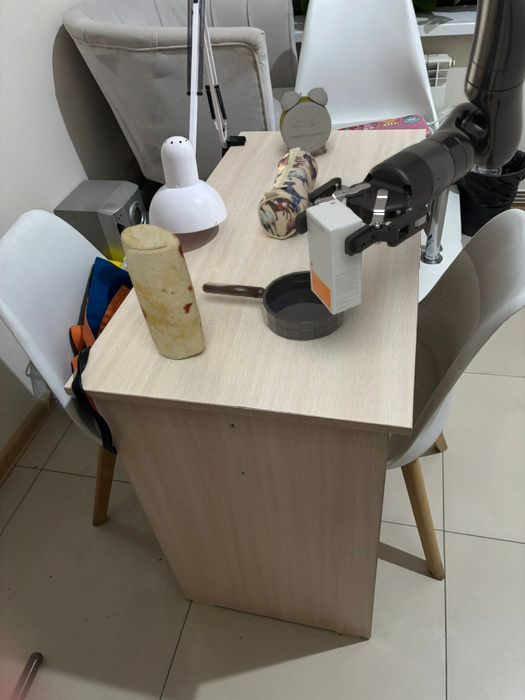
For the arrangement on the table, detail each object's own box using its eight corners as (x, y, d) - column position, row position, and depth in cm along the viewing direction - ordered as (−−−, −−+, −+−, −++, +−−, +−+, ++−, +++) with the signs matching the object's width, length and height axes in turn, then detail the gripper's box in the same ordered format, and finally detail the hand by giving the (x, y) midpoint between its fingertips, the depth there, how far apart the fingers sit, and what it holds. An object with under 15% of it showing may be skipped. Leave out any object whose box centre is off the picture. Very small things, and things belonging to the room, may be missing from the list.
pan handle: (268, 294, 81) (266, 285, 80) (264, 301, 80) (263, 292, 79) (205, 288, 84) (203, 279, 83) (201, 294, 83) (199, 285, 82)
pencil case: (303, 241, 96) (300, 193, 89) (259, 240, 98) (253, 192, 91) (319, 187, 111) (318, 142, 104) (281, 187, 113) (277, 143, 106)
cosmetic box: (310, 291, 67) (304, 207, 59) (339, 280, 68) (337, 197, 60) (332, 316, 63) (329, 230, 54) (362, 305, 63) (364, 219, 55)
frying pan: (352, 292, 83) (352, 274, 81) (337, 345, 74) (337, 327, 72) (276, 285, 87) (274, 267, 84) (254, 335, 78) (251, 317, 76)
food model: (217, 341, 78) (191, 225, 64) (192, 370, 74) (158, 252, 60) (167, 325, 82) (132, 212, 68) (140, 351, 78) (98, 237, 64)
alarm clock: (328, 148, 125) (327, 82, 115) (333, 160, 120) (333, 91, 110) (281, 155, 125) (276, 89, 115) (284, 166, 120) (279, 99, 110)
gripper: (365, 139, 66) (273, 189, 59) (466, 165, 58) (374, 227, 51) (363, 193, 71) (279, 245, 64) (456, 224, 63) (371, 288, 56)
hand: (321, 237), depth 57 cm, fingers closed on cosmetic box, 7 cm apart
